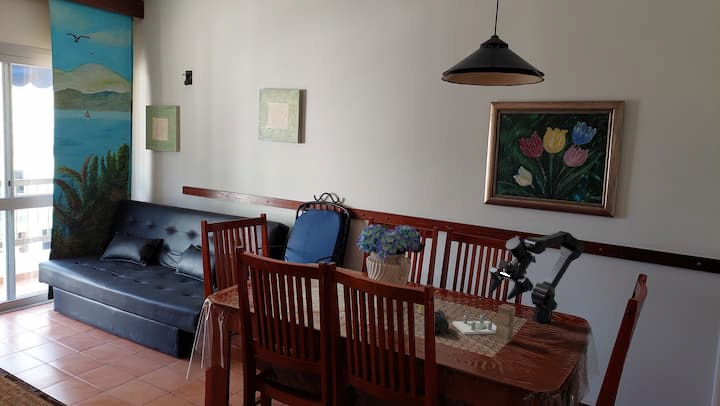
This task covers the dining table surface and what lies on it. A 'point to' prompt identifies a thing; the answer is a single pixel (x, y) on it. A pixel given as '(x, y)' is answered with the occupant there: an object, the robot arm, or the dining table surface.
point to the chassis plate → (475, 326)
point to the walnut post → (505, 323)
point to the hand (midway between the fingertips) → (498, 295)
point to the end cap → (441, 323)
